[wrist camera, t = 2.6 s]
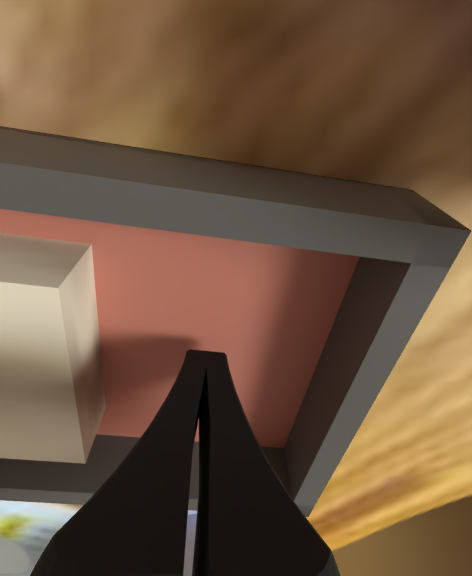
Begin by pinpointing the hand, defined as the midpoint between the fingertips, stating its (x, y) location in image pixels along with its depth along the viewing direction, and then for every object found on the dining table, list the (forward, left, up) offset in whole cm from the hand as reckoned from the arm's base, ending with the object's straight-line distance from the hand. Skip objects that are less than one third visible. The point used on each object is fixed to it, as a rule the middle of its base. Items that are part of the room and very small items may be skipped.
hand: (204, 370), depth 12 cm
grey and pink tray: (0, +3, -1) cm, 3 cm away
